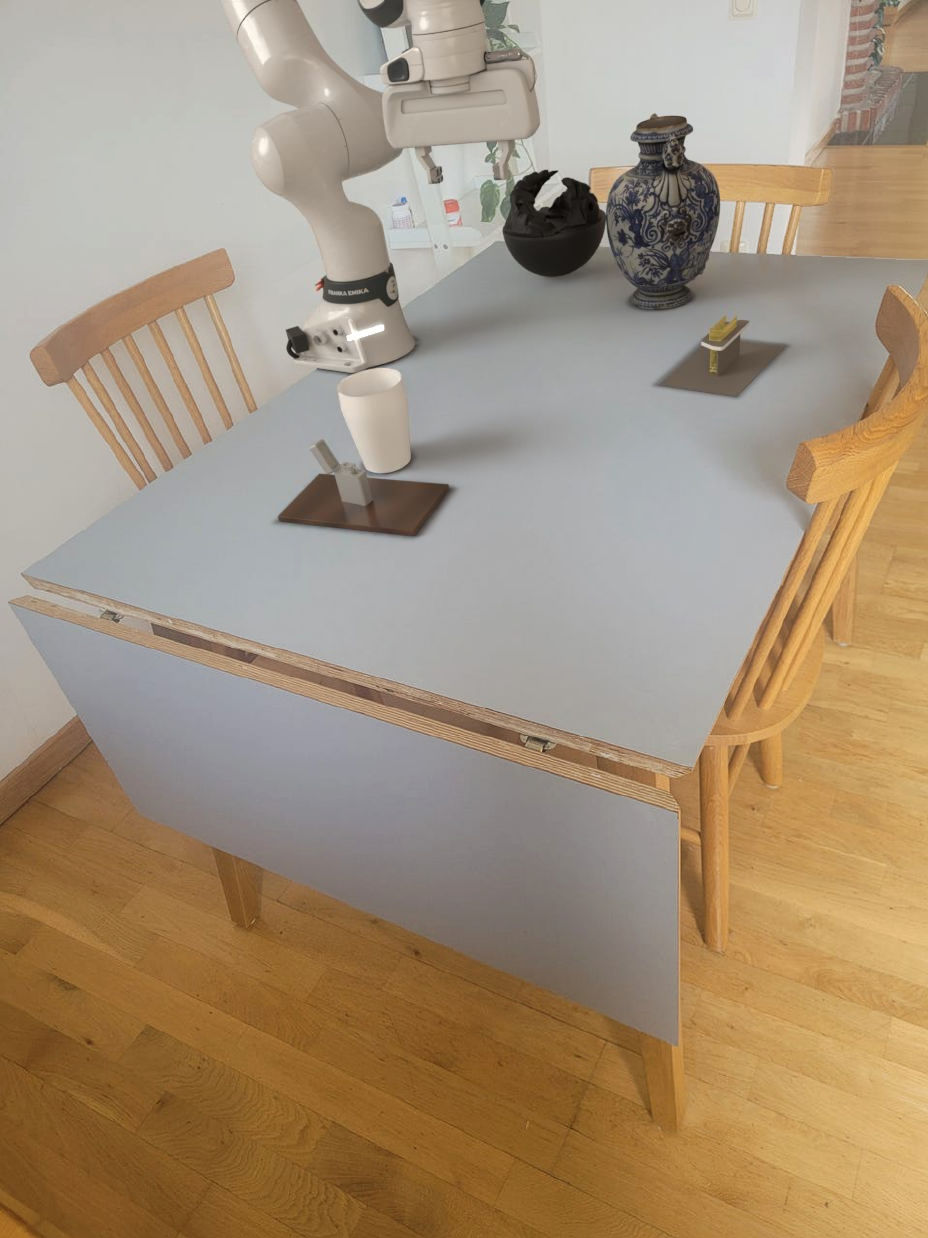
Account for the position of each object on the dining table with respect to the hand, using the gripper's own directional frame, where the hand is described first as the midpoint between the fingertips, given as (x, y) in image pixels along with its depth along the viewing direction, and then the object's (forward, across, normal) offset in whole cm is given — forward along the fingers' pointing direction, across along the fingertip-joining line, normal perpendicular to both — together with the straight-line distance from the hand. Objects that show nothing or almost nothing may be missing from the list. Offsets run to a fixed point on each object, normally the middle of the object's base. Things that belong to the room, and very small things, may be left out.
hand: (468, 180), depth 111 cm
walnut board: (+30, +6, +32) cm, 45 cm away
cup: (+31, +8, +21) cm, 38 cm away
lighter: (+30, +8, +32) cm, 45 cm away
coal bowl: (+31, +8, -54) cm, 63 cm away
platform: (+30, -31, -13) cm, 46 cm away
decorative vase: (+31, -16, -40) cm, 53 cm away
